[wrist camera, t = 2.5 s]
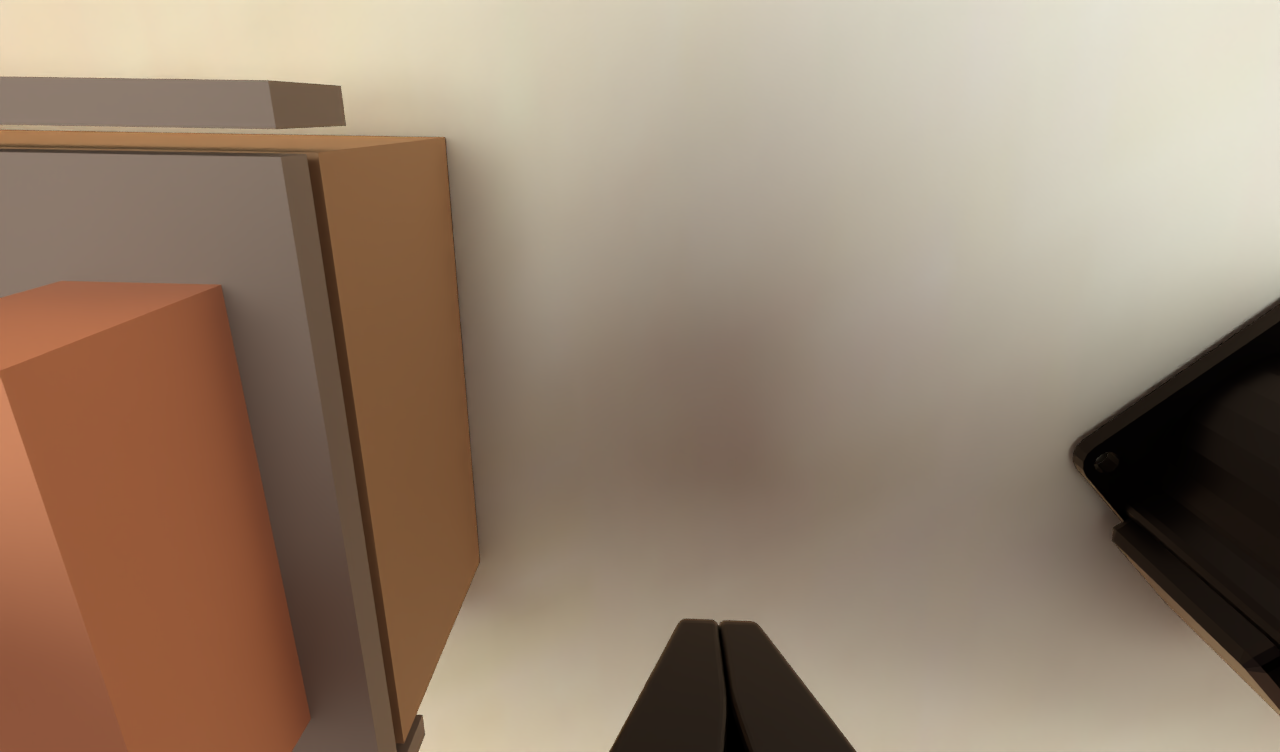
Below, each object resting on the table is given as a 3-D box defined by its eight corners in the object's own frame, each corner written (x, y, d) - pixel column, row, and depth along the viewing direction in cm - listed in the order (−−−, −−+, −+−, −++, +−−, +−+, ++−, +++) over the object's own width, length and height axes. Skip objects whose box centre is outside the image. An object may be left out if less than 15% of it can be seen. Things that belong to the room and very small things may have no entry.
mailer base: (445, 137, 14) (318, 153, 9) (480, 561, 17) (403, 743, 12) (-285, 125, 14) (-801, 133, 9) (-103, 541, 18) (-402, 708, 13)
